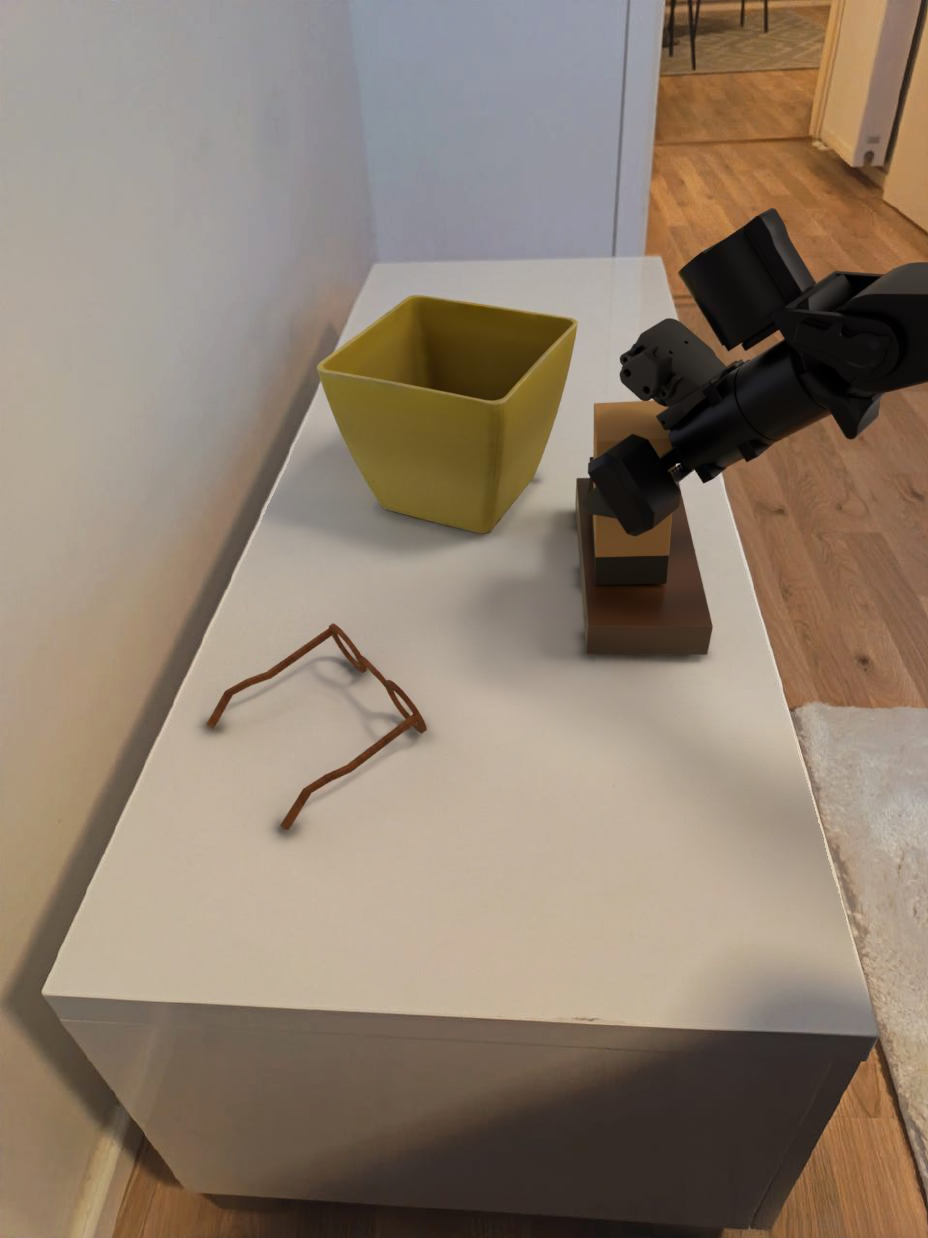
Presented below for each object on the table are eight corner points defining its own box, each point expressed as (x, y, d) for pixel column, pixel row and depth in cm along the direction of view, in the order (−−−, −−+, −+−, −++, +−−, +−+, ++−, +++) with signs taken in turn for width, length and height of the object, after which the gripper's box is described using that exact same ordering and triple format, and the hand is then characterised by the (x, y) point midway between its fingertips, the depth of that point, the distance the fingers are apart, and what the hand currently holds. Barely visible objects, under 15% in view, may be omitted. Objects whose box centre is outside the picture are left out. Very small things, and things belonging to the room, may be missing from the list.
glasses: (432, 743, 68) (427, 699, 64) (284, 833, 62) (270, 791, 59) (343, 652, 76) (335, 609, 72) (205, 725, 70) (189, 682, 67)
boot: (666, 584, 74) (678, 437, 64) (595, 585, 74) (596, 441, 65) (651, 480, 86) (659, 344, 76) (589, 482, 86) (589, 348, 77)
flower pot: (423, 431, 103) (411, 290, 92) (574, 464, 96) (581, 316, 85) (337, 518, 91) (311, 367, 79) (504, 563, 84) (501, 405, 73)
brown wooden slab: (706, 662, 73) (713, 626, 70) (585, 661, 74) (588, 626, 71) (673, 509, 89) (677, 476, 86) (574, 510, 90) (576, 477, 87)
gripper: (770, 256, 63) (630, 359, 76) (620, 346, 53) (489, 447, 66) (849, 387, 64) (697, 467, 77) (717, 500, 54) (569, 569, 67)
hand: (617, 483), depth 72 cm, fingers open, 9 cm apart
